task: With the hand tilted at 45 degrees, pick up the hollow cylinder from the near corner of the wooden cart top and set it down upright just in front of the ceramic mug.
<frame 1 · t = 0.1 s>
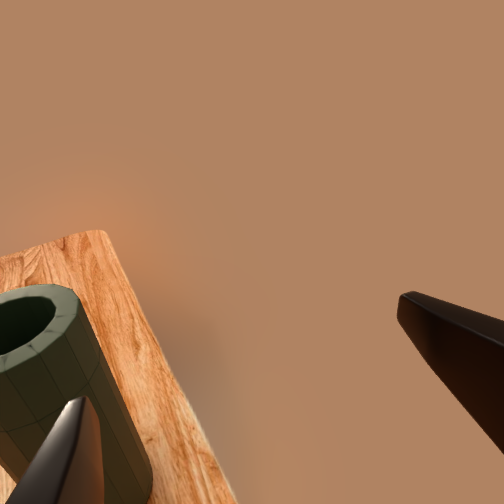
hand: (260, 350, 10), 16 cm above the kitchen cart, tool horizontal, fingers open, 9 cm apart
hollow cylinder: (106, 491, 22), on the kitchen cart
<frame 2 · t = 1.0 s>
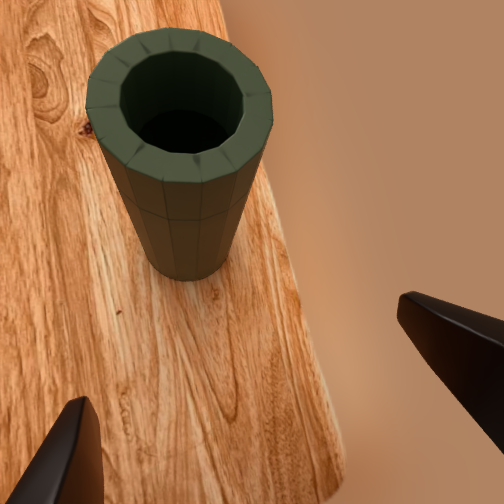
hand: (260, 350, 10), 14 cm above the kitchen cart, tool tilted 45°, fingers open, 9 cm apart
hollow cylinder: (187, 239, 25), on the kitchen cart
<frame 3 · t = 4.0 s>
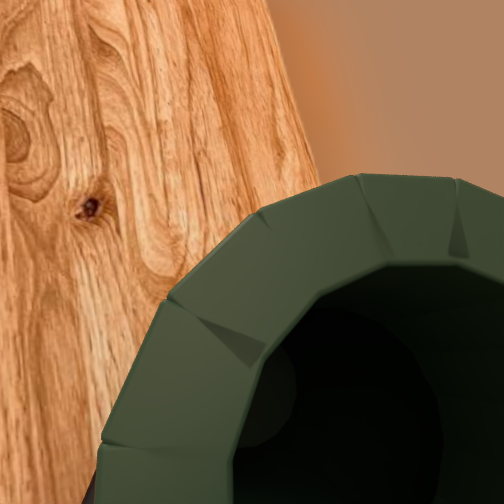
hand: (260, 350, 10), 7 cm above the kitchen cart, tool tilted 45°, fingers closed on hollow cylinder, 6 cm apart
hollow cylinder: (240, 384, 16), on the kitchen cart, touching gripper
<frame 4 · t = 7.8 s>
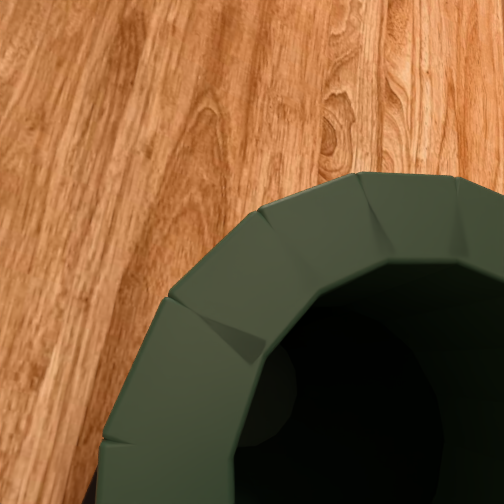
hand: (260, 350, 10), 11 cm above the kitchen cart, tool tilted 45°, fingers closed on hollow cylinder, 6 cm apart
hollow cylinder: (240, 384, 16), point 4 cm above the kitchen cart, touching gripper
when the fingers open (7 cm above the kitchen cart, at t = 11.7 s): hollow cylinder stays where it is, on the kitchen cart.
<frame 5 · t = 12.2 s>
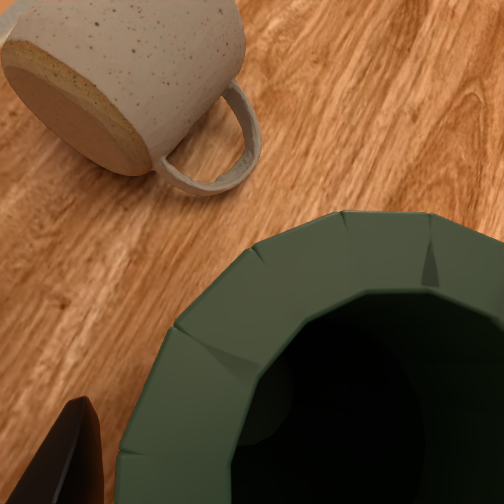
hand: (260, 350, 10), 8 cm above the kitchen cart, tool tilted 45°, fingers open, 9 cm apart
hollow cylinder: (239, 384, 17), on the kitchen cart
ceramic mug: (165, 128, 20), on the kitchen cart
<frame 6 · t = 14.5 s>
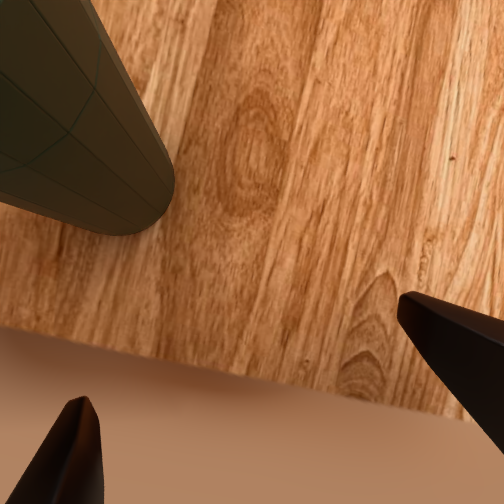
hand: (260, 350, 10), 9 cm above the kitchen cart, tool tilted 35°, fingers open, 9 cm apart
hollow cylinder: (119, 180, 19), on the kitchen cart
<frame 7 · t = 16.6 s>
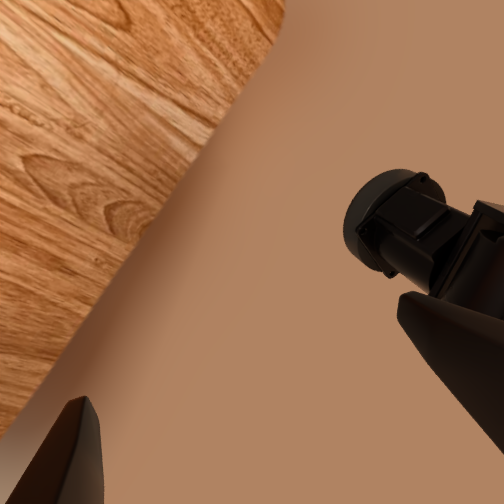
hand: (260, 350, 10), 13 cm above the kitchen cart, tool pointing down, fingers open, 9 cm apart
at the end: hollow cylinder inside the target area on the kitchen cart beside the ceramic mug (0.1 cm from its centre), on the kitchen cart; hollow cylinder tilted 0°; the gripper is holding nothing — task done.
